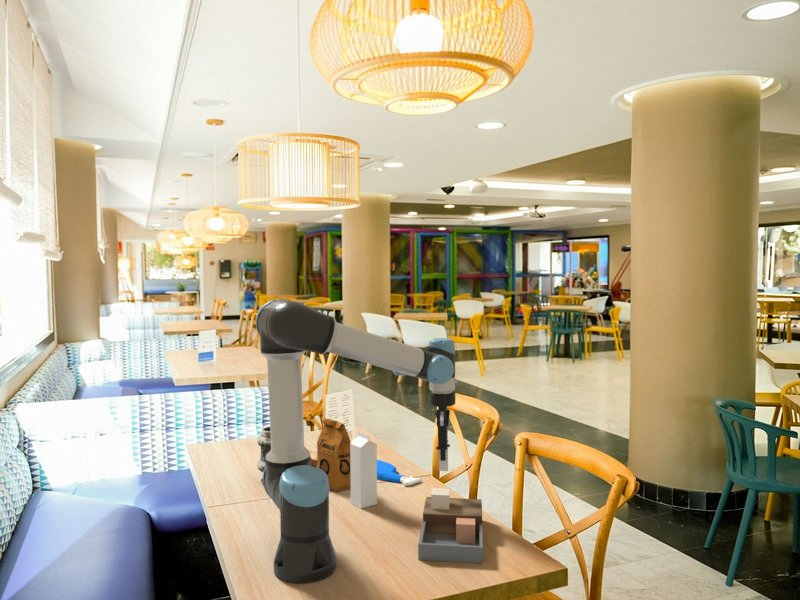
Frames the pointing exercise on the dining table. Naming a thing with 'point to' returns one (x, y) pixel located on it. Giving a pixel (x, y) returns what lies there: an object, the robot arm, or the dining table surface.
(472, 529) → the salmon orange block
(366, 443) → the milk
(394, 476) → the spray bottle
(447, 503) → the cream block
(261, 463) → the dark stone vase
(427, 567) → the dining table surface
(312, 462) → the bread slice
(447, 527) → the block
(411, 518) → the dining table surface
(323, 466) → the coffee package
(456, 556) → the box
